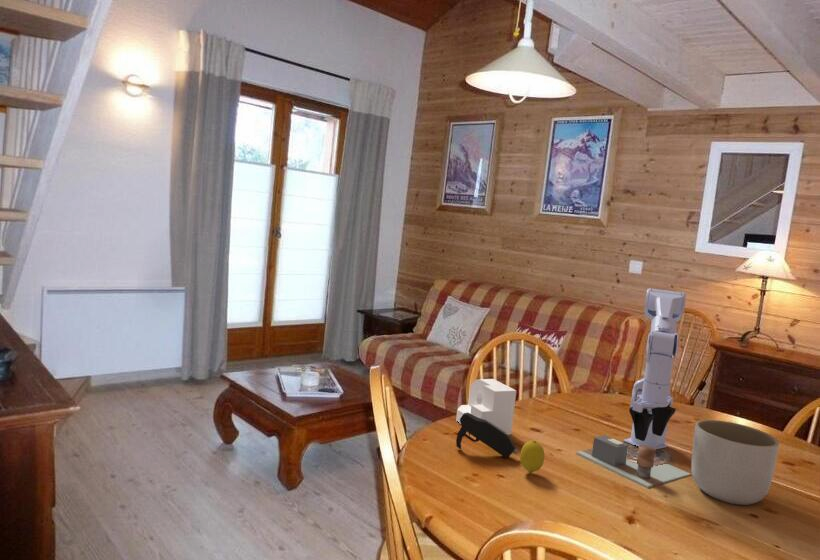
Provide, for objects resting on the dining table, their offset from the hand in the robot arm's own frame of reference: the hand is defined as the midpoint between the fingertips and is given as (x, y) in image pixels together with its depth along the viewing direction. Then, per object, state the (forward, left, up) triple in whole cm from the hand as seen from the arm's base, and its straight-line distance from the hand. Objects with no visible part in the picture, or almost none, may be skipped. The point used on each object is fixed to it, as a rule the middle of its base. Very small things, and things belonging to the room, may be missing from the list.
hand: (648, 437), depth 141 cm
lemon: (+25, -13, -11) cm, 30 cm away
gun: (+29, -28, -12) cm, 43 cm away
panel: (-5, -6, -10) cm, 13 cm away
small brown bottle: (0, 0, -10) cm, 10 cm away
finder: (0, -10, -10) cm, 14 cm away
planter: (-12, +14, -11) cm, 21 cm away
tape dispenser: (+15, -43, -11) cm, 47 cm away
